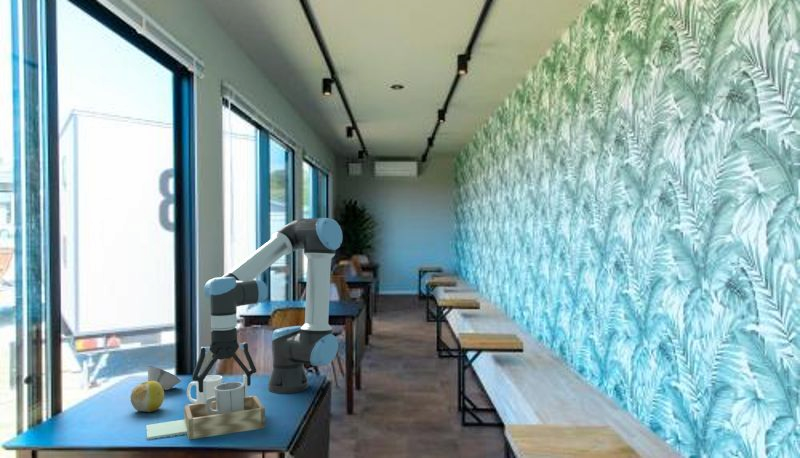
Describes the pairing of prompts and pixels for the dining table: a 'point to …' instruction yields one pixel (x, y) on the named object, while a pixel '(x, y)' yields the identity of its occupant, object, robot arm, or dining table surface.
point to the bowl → (162, 377)
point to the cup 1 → (210, 384)
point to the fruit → (147, 396)
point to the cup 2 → (227, 398)
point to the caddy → (223, 419)
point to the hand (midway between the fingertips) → (225, 399)
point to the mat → (166, 429)
